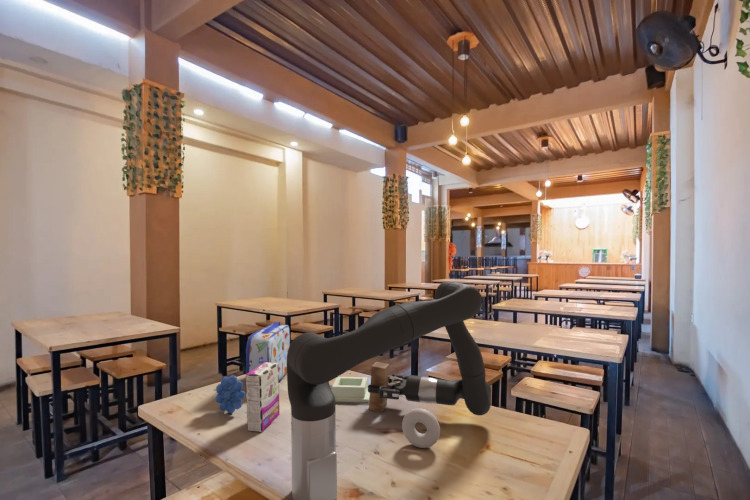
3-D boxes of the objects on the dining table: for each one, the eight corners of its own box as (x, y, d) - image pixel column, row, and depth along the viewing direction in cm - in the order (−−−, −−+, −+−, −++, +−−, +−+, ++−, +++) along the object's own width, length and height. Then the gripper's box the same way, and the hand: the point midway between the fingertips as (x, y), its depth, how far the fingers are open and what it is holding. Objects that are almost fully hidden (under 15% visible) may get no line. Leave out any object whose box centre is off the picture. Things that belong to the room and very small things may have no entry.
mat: (378, 387, 136) (378, 386, 135) (374, 406, 120) (374, 405, 120) (329, 386, 137) (329, 385, 137) (319, 404, 121) (319, 403, 121)
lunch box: (269, 369, 157) (268, 317, 157) (293, 369, 157) (292, 317, 156) (241, 395, 130) (241, 332, 130) (270, 395, 129) (270, 332, 129)
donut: (400, 447, 95) (400, 408, 95) (404, 440, 98) (403, 403, 98) (438, 454, 92) (438, 414, 92) (441, 447, 95) (441, 408, 95)
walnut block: (386, 406, 119) (389, 364, 119) (382, 412, 115) (385, 368, 114) (373, 404, 120) (376, 361, 120) (368, 409, 116) (371, 366, 116)
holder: (372, 388, 134) (372, 376, 134) (368, 402, 122) (368, 389, 122) (334, 387, 135) (333, 375, 135) (326, 401, 123) (326, 387, 123)
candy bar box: (265, 413, 115) (264, 361, 115) (280, 415, 114) (279, 362, 114) (245, 431, 104) (244, 373, 104) (261, 433, 103) (261, 374, 103)
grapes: (254, 410, 117) (254, 372, 117) (238, 419, 111) (238, 380, 111) (227, 404, 122) (226, 368, 122) (210, 413, 116) (209, 375, 116)
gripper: (427, 369, 119) (379, 364, 125) (417, 385, 106) (364, 379, 111) (427, 392, 120) (379, 387, 125) (417, 411, 106) (364, 404, 111)
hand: (372, 383), depth 118 cm, fingers open, 8 cm apart
